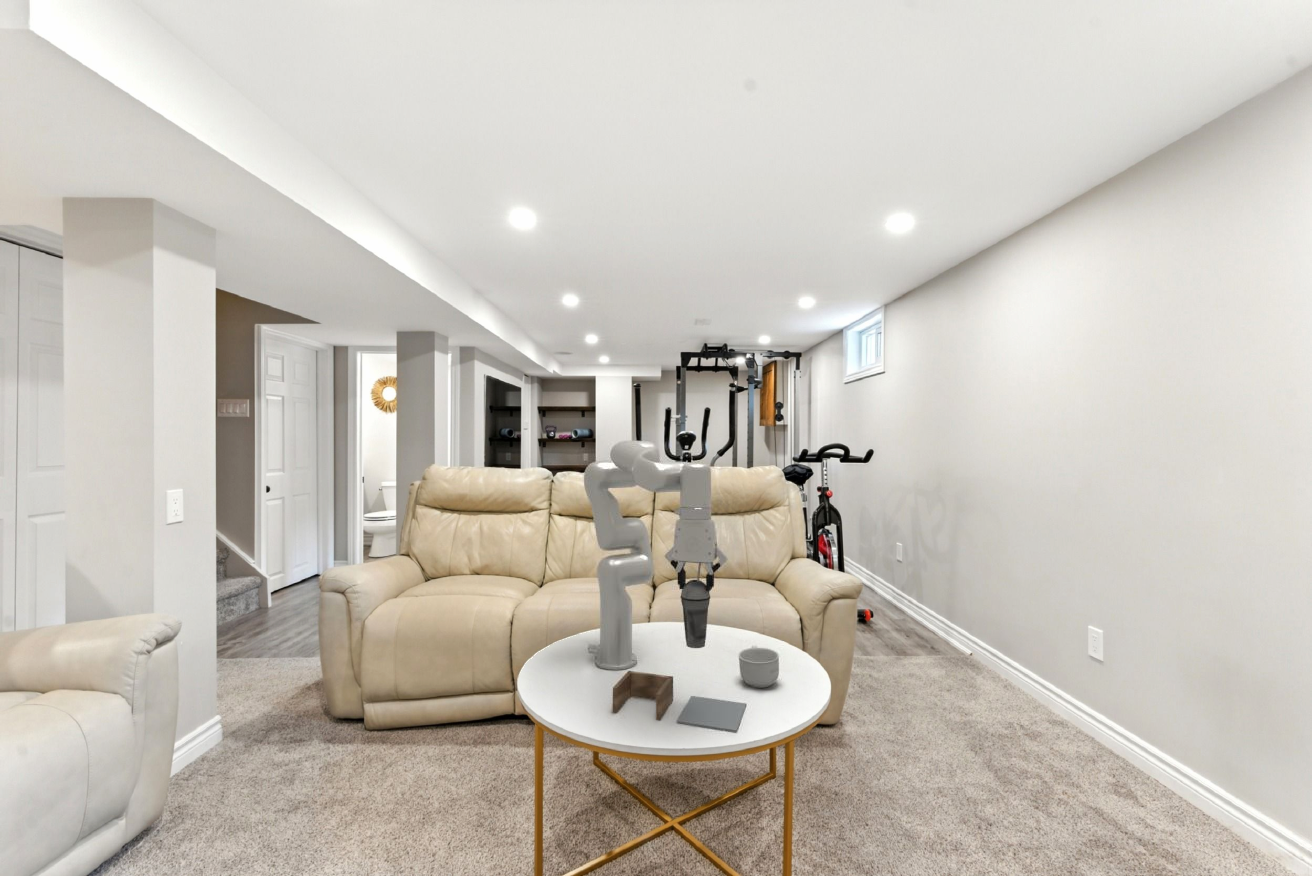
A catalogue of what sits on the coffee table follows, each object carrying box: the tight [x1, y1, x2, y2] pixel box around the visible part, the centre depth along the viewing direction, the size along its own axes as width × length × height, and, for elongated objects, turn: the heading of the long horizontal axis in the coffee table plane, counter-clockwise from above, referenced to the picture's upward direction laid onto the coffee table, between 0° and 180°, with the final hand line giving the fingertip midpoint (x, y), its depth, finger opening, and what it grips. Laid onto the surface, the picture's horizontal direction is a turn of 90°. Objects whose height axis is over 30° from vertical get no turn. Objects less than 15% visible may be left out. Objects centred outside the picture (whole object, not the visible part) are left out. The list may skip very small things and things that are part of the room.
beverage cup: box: [680, 563, 711, 649], centre depth 137 cm, size 7×7×20 cm
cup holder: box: [612, 670, 674, 721], centre depth 140 cm, size 12×11×6 cm
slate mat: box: [676, 695, 747, 733], centre depth 136 cm, size 14×14×1 cm
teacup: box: [738, 645, 780, 689], centre depth 156 cm, size 14×11×8 cm
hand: (695, 588), depth 137 cm, fingers closed on beverage cup, 6 cm apart
